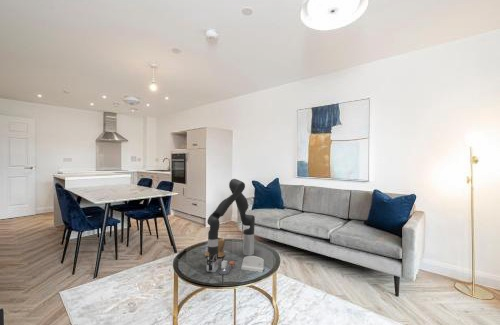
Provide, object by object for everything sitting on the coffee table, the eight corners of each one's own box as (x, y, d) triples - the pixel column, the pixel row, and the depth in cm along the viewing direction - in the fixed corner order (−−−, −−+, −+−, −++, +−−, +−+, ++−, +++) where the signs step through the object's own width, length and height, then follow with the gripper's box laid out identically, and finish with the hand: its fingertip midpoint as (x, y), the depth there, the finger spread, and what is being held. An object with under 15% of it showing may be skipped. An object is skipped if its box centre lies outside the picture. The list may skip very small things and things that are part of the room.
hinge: (240, 269, 173) (242, 254, 176) (242, 269, 177) (244, 254, 180) (262, 272, 168) (264, 257, 171) (264, 272, 172) (265, 257, 175)
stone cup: (226, 254, 204) (227, 236, 205) (222, 259, 192) (222, 240, 193) (210, 252, 207) (210, 235, 208) (204, 257, 195) (205, 239, 196)
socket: (214, 272, 166) (214, 262, 167) (206, 271, 168) (206, 261, 169) (218, 269, 172) (218, 259, 172) (210, 268, 174) (210, 258, 174)
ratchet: (226, 275, 161) (227, 263, 162) (217, 274, 164) (217, 262, 164) (236, 265, 179) (237, 254, 180) (228, 264, 182) (228, 253, 182)
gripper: (213, 248, 163) (212, 273, 162) (221, 242, 177) (221, 265, 176) (203, 247, 165) (202, 271, 165) (212, 241, 179) (212, 264, 178)
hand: (212, 268), depth 170 cm, fingers closed on socket, 6 cm apart
